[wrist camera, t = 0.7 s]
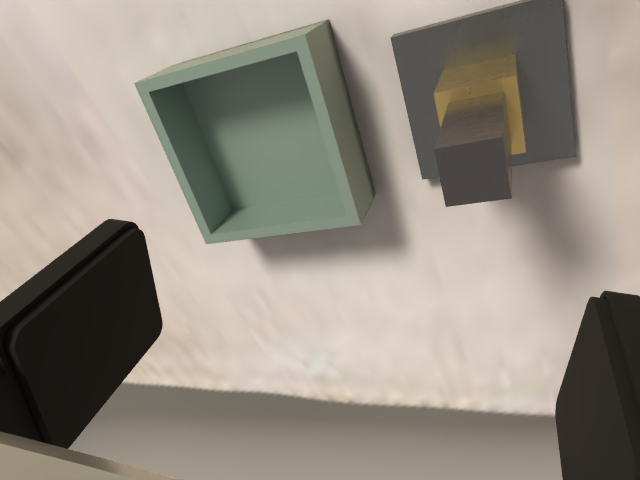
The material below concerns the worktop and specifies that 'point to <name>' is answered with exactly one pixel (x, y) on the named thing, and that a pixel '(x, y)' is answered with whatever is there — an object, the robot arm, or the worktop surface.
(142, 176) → the worktop surface
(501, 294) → the worktop surface
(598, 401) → the robot arm
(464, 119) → the strut
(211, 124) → the bin
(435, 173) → the ball stud
